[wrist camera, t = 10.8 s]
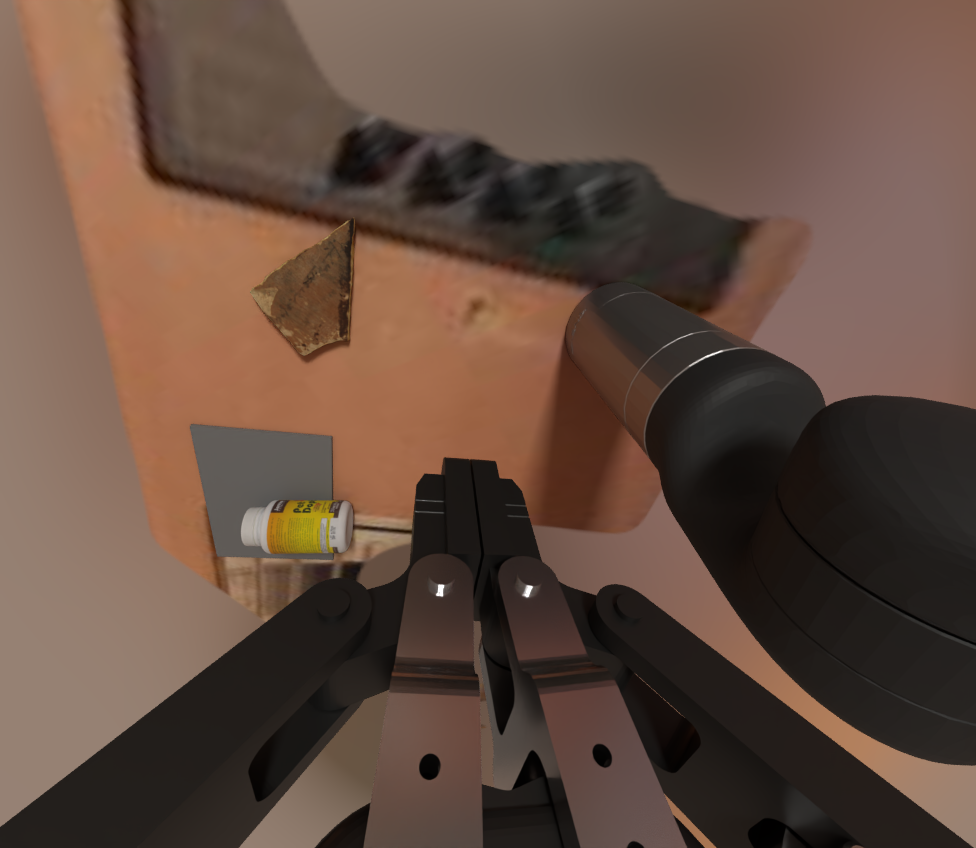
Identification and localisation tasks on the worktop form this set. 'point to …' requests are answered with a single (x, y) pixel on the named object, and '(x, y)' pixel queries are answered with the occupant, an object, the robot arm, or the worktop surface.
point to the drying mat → (258, 478)
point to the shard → (312, 292)
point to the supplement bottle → (299, 526)
